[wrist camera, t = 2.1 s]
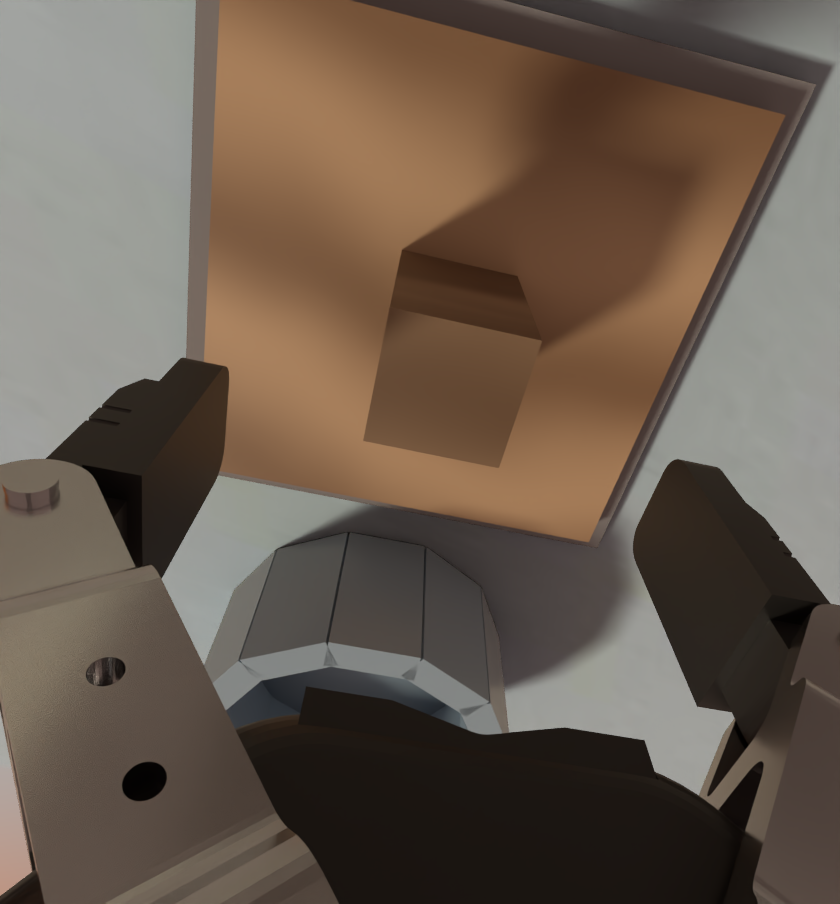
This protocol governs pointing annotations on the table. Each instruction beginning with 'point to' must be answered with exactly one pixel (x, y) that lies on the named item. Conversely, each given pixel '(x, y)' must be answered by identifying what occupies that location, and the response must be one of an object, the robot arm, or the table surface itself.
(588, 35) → the mat
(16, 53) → the table surface
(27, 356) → the table surface
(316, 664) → the bowl
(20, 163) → the table surface
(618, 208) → the lid
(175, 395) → the robot arm
